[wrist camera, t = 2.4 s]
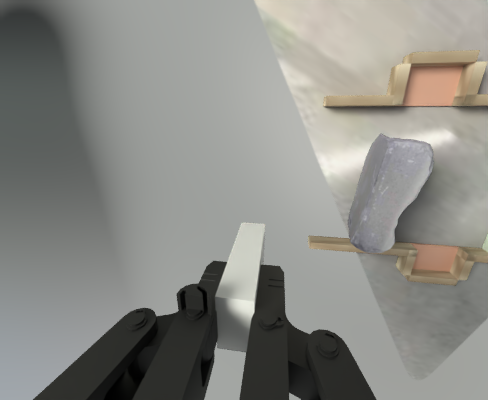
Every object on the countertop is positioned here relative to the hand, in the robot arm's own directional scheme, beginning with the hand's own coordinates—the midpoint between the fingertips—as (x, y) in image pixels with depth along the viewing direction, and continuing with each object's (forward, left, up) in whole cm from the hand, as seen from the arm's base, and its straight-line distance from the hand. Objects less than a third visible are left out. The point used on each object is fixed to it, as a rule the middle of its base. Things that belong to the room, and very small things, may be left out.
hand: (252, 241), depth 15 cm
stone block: (0, +13, -19) cm, 22 cm away
